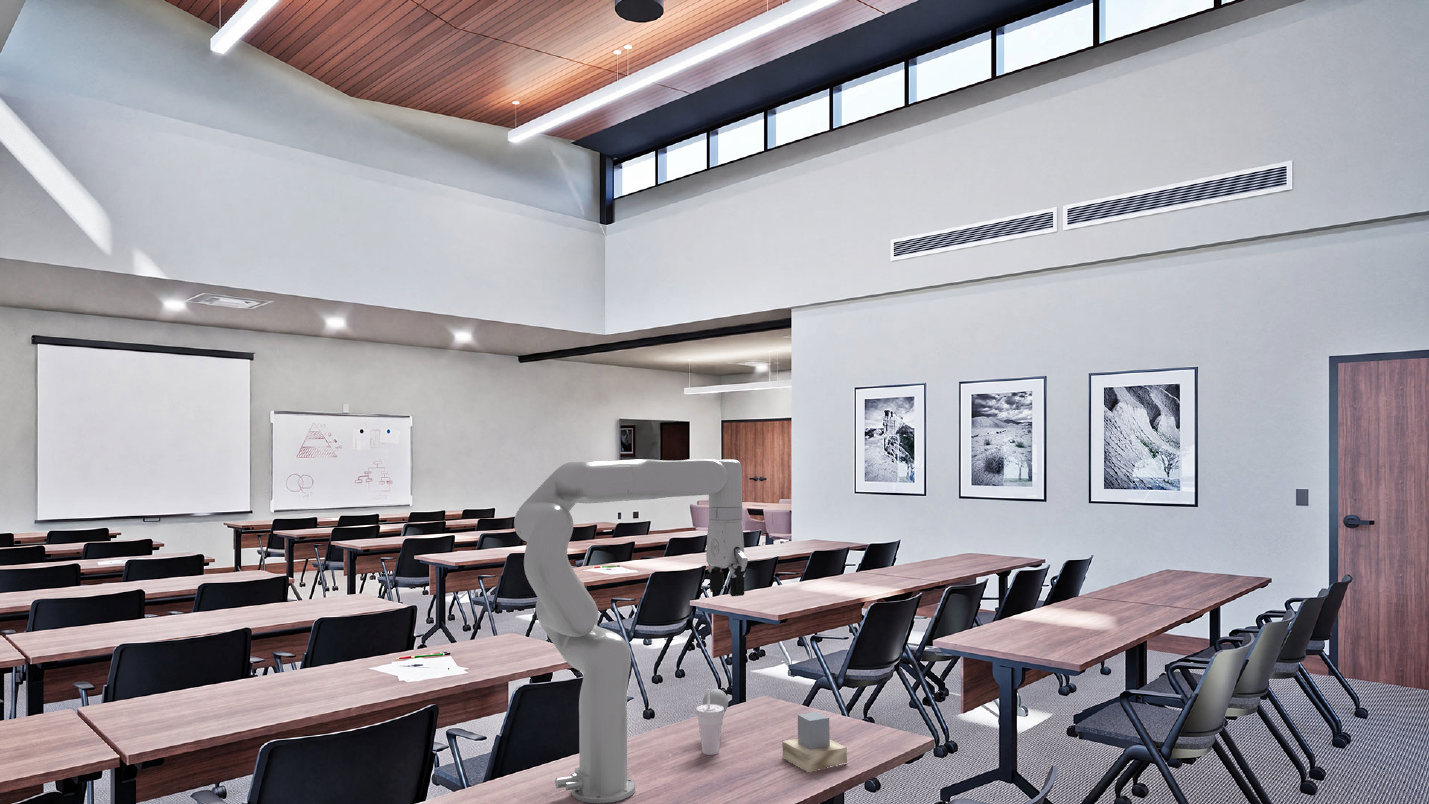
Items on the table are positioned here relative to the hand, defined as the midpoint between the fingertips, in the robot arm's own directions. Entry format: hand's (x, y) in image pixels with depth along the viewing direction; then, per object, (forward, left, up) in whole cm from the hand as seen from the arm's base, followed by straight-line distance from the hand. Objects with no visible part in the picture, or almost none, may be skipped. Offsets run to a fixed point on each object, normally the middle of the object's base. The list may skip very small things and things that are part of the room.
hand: (726, 592), depth 187 cm
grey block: (+16, -9, -33) cm, 38 cm away
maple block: (+16, -9, -37) cm, 41 cm away
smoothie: (-1, +7, -36) cm, 37 cm away
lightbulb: (+5, +16, -36) cm, 40 cm away
